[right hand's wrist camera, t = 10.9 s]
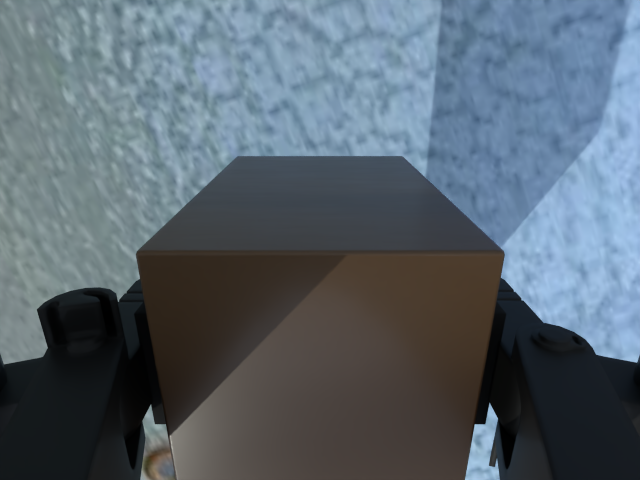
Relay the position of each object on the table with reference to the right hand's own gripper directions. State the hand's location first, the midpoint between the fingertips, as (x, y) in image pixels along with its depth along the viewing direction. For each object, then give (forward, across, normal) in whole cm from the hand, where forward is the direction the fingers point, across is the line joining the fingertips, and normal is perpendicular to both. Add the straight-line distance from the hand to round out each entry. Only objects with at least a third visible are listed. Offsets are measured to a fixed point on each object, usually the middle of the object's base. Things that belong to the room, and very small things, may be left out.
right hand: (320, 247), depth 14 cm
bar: (+1, 0, -10) cm, 10 cm away
